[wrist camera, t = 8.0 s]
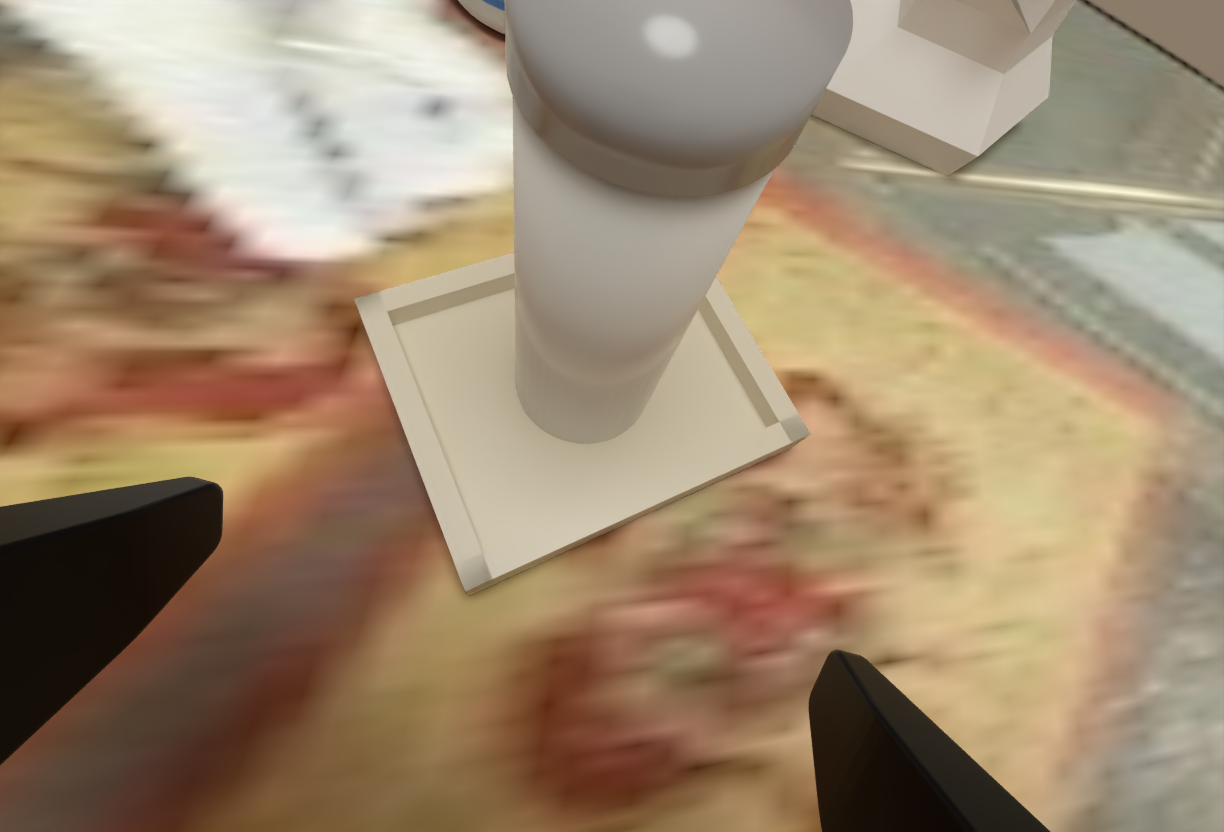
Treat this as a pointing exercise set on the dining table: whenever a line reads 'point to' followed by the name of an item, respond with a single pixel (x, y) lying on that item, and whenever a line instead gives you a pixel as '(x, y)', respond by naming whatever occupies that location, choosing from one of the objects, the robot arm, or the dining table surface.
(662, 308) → the salt shaker
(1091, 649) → the dining table surface
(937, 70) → the white faceted sculpture
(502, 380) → the tray
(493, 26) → the supplement tub
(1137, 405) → the dining table surface
